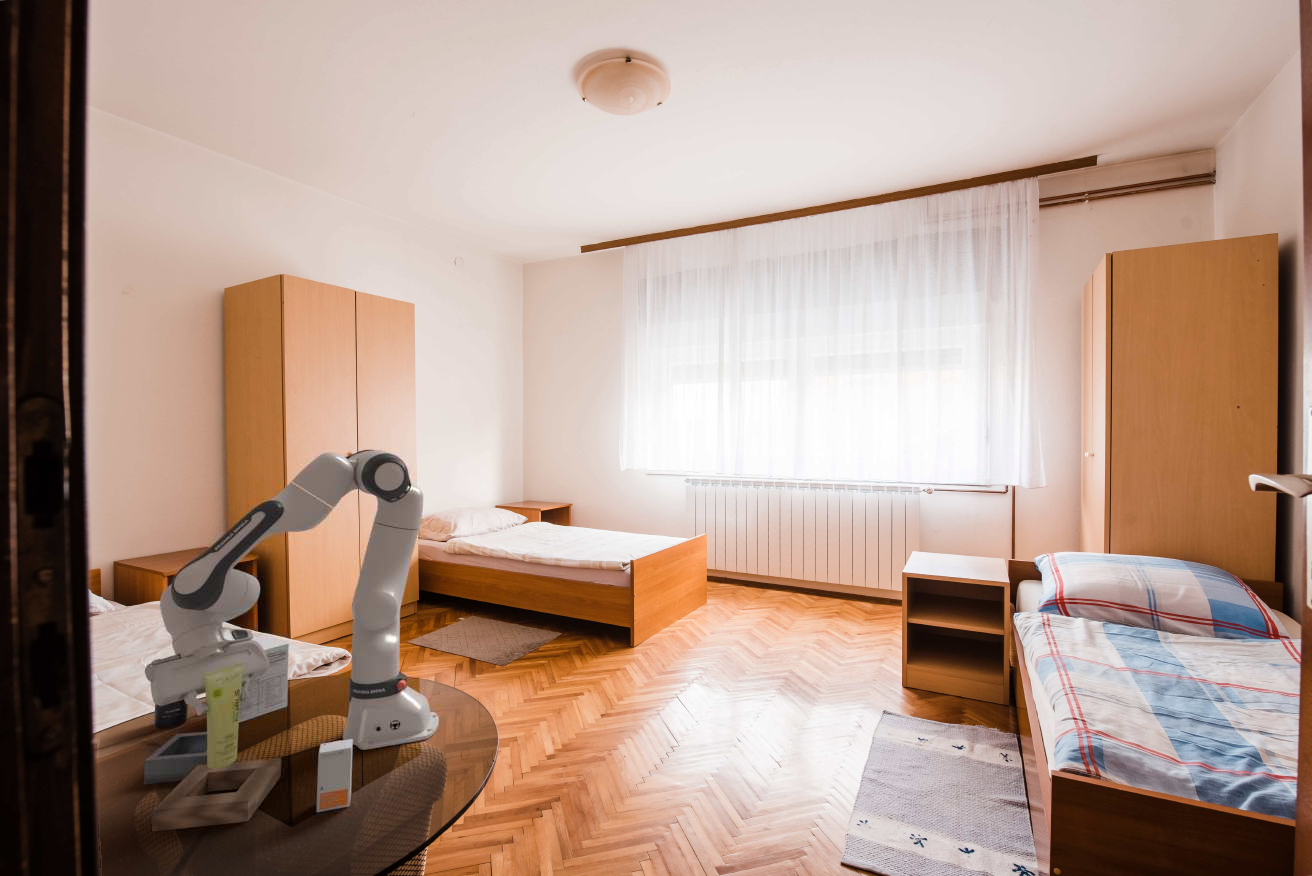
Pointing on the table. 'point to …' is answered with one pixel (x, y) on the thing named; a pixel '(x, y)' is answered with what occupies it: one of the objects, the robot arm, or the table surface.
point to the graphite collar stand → (176, 758)
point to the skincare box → (334, 775)
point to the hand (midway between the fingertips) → (224, 705)
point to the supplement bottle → (170, 715)
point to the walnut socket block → (217, 795)
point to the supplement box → (268, 682)
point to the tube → (223, 714)
